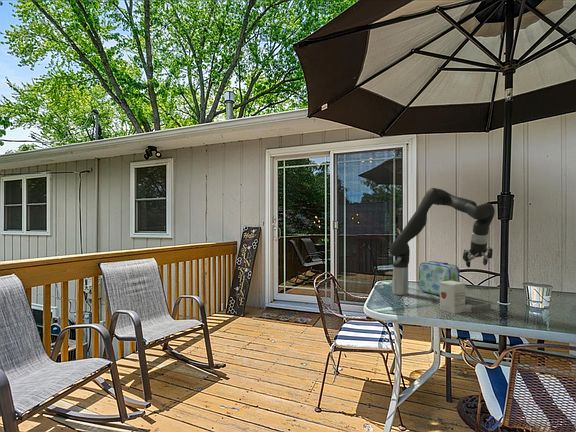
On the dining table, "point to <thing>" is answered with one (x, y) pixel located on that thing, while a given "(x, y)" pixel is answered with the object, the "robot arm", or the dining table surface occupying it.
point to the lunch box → (436, 275)
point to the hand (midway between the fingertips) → (476, 265)
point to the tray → (477, 305)
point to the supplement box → (452, 296)
